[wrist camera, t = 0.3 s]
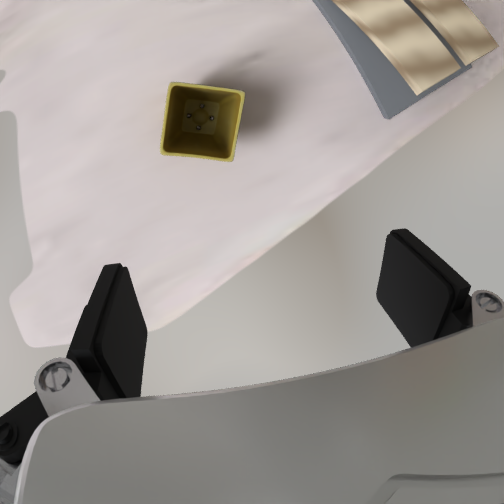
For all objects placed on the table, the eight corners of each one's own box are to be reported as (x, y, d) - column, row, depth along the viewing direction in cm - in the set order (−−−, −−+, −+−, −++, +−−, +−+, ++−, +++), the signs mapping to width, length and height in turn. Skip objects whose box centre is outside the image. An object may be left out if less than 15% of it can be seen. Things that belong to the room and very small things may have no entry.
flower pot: (237, 91, 40) (246, 91, 32) (227, 149, 44) (233, 163, 36) (175, 83, 38) (168, 81, 30) (166, 142, 42) (158, 155, 34)
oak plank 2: (379, -28, 30) (382, -35, 28) (413, -38, 28) (416, -44, 26) (465, 65, 31) (471, 61, 29) (492, 50, 30) (498, 46, 28)
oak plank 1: (323, -7, 32) (324, -15, 30) (366, -24, 30) (368, -31, 28) (416, 95, 33) (422, 91, 31) (454, 72, 32) (461, 67, 30)
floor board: (290, -28, 31) (297, -36, 28) (396, -60, 27) (406, -66, 24) (384, 118, 44) (395, 121, 41) (466, 66, 40) (479, 67, 37)
